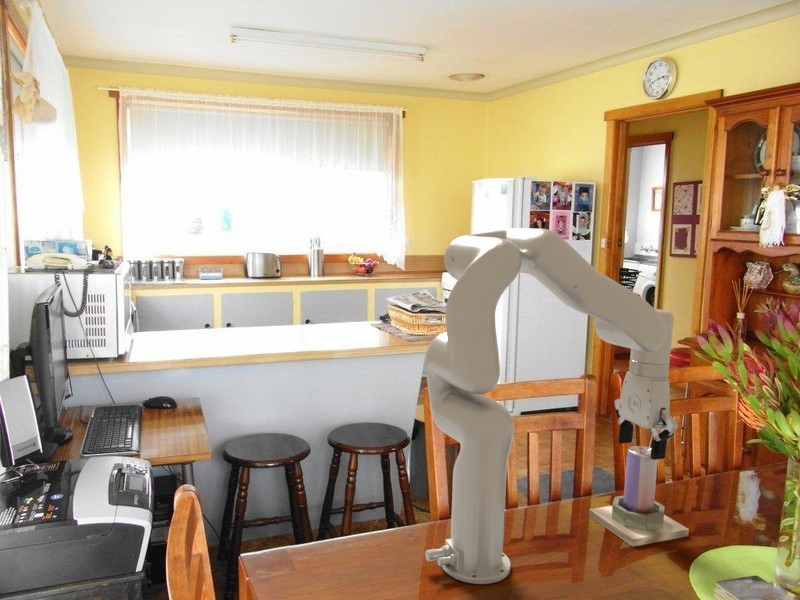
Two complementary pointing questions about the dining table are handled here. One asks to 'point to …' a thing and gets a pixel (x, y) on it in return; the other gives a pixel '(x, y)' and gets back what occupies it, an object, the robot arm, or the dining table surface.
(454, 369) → the robot arm
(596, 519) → the can holder
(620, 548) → the dining table surface
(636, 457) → the beverage can
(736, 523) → the dining table surface
